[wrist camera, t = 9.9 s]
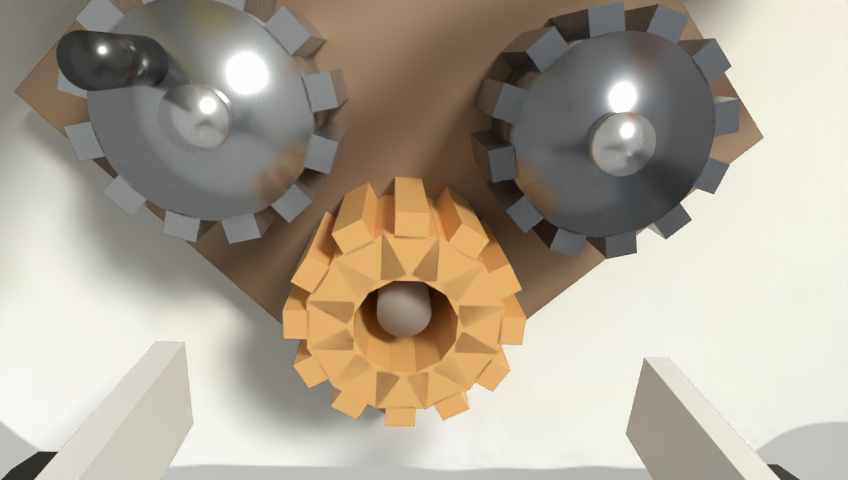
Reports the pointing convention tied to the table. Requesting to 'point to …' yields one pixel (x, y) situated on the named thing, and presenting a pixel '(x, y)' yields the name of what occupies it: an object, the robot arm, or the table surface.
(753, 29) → the table surface
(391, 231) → the orange gear
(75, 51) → the gear
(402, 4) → the gear board
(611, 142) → the gear
